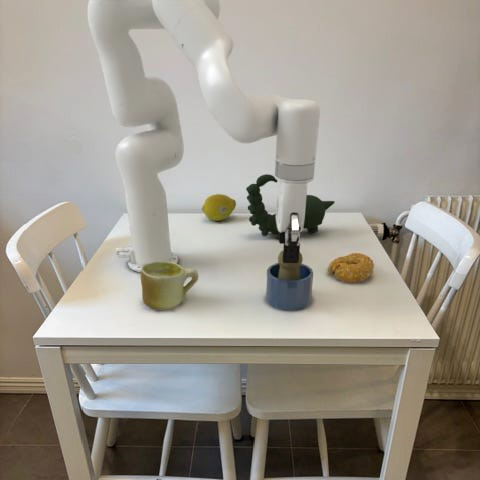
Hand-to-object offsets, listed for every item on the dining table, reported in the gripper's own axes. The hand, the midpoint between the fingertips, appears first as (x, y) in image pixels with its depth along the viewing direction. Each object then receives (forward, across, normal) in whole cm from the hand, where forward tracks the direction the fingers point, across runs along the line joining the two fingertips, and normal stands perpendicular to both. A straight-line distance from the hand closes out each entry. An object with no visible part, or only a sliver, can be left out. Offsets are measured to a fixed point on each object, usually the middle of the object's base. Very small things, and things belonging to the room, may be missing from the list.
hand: (288, 252), depth 101 cm
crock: (+11, 0, +1) cm, 11 cm away
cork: (+11, 0, +1) cm, 11 cm away
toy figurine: (+12, -38, +5) cm, 41 cm away
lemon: (+13, -52, -16) cm, 55 cm away
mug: (+12, 0, -25) cm, 28 cm away
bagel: (+11, -12, +17) cm, 23 cm away
